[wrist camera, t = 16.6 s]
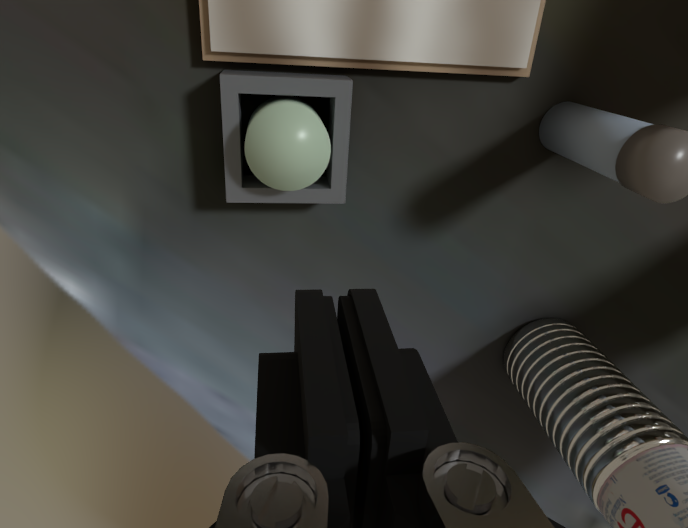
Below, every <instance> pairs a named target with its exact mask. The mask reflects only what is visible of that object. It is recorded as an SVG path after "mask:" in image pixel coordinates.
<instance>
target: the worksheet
mask: <svg viewBox="0 0 688 528" xmlns="http://www.w3.org/2000/svg"><path fill="white" fill-rule="evenodd" d="M545 1H546V0H199V10H200V25H201V40H202V55H203V60H207V61H227V62H246V63H266V64H285V65H305V66H324V67H343V68H363V69H382V70H402V71H421V72H441V73H460V74H479V75H499V76H518V77H529V75H530V70H531V66H532V61H533V57H534V52H535V47H536V43H537V38H538V33H539V29H540V24H541V20H542V15H543V10H544V6H545Z"/></svg>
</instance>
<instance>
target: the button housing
mask: <svg viewBox="0 0 688 528" xmlns="http://www.w3.org/2000/svg"><path fill="white" fill-rule="evenodd" d="M352 86H353V80H351V79H350V78H349V77H347V76H342V75H322V74H301V73H281V72H260V71H240V70H223V71H222V72H221V73H220V90H221V109H222V128H223V147H224V165H225V184H226V203H342V204H345V197H346V181H347V165H348V149H349V133H350V117H351V101H352ZM241 93H244V94H268V95H291V96H315V97H330V106H329V129H328V135H329V139H330V144H331V153H330V159H329V163H328V165H327V175H326V177H320V178H319V179H318V180H317V181H315V182H314V183H313V184H311V185H310V186H308V187H305V188H303V189H300V190H295V191H282V190H277V189H274V188H271V187H269V186H267V185H265V184H264V183H262V182H261V181H260V180H259V179H258V178H257V177H256V176H247V175H243V147H242V119H241Z"/></svg>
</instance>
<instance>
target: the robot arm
mask: <svg viewBox="0 0 688 528" xmlns="http://www.w3.org/2000/svg"><path fill="white" fill-rule="evenodd" d="M209 528H565V527H563V526H562V525H560V524H558V523H557V522H555V521H553V520H551V519H550V518H548V517H547V516H546V515H545V514H544V512H543V511H542V509H541V508H540V507H539V505H538V504H537V502H536V501H535V500H534V498H533V497H532V495H531V494H530V493H529V491H528V490H527V488H526V487H525V486H524V484H523V483H522V481H521V480H520V478H519V477H518V476H517V474H516V473H515V471H514V470H513V469H512V468H511V467H510V466H509V465H508V464H507V463H506V462H505V460H504V459H502V458H501V457H499V456H498V455H496V454H495V453H493V452H492V451H490V450H488V449H485V448H483V447H481V446H478V445H475V444H469V443H464V442H459V443H458V442H457V440H456V437H455V435H454V433H453V430H452V428H451V426H450V424H449V421H448V419H447V417H446V414H445V412H444V410H443V408H442V405H441V403H440V401H439V398H438V396H437V394H436V391H435V389H434V387H433V385H432V382H431V380H430V378H429V375H428V373H427V371H426V369H425V366H424V364H423V362H422V359H421V357H420V355H419V353H418V351H417V350H416V349H414V348H407V349H398V347H397V344H396V342H395V339H394V336H393V334H392V331H391V328H390V326H389V323H388V321H387V318H386V315H385V313H384V310H383V307H382V305H381V302H380V300H379V297H378V294H377V292H376V290H375V289H349V291H348V296H339V300H338V314H337V317H336V312H335V308H334V303H333V298H332V296H323V293H322V290H296V292H295V345H294V352H284V353H259V365H258V388H257V412H256V436H255V459H253V460H252V461H250V462H249V463H247V464H246V465H244V466H242V467H241V468H240V469H239V470H238V471H237V472H236V473H235V475H234V476H233V477H232V478H231V480H230V482H229V484H228V486H227V488H226V490H225V493H224V496H223V500H222V504H221V507H220V511H219V515H218V518H217V521H216V522H215V523H214V524H213V525H211V527H209Z"/></svg>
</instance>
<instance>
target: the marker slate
mask: <svg viewBox="0 0 688 528" xmlns="http://www.w3.org/2000/svg"><path fill="white" fill-rule="evenodd" d="M539 138H540V141H541V143H542V145H543V146H544V147H545V148H547V149H548V150H550V151H553V152H555V153H557V154H559V155H561V156H563V157H565V158H568V159H570V160H572V161H574V162H576V163H578V164H580V165H583V166H585V167H587V168H589V169H591V170H593V171H595V172H598V173H600V174H602V175H604V176H606V177H608V178H611V179H613V180H615V181H617V182H619V183H620V184H621V185H622V186H624V187H625V188H627V189H629V190H631V191H633V192H636V193H638V194H640V195H642V196H644V197H646V198H648V199H650V200H652V201H655V202H658V203H671V202H675V201H678V200H680V199H682V198H684V197H686V196H687V195H688V131H685V130H681V129H677V128H673V127H670V126H666V125H662V124H650V123H647V122H643V121H639V120H636V119H632V118H628V117H625V116H621V115H617V114H614V113H610V112H606V111H603V110H599V109H596V108H592V107H588V106H585V105H581V104H577V103H574V102H562V103H559V104H556V105H555V106H553V107H552V108H551V109H549V110H548V111H547V113H546V114H545V115H544V117H543V119H542V121H541V123H540V127H539Z"/></svg>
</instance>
